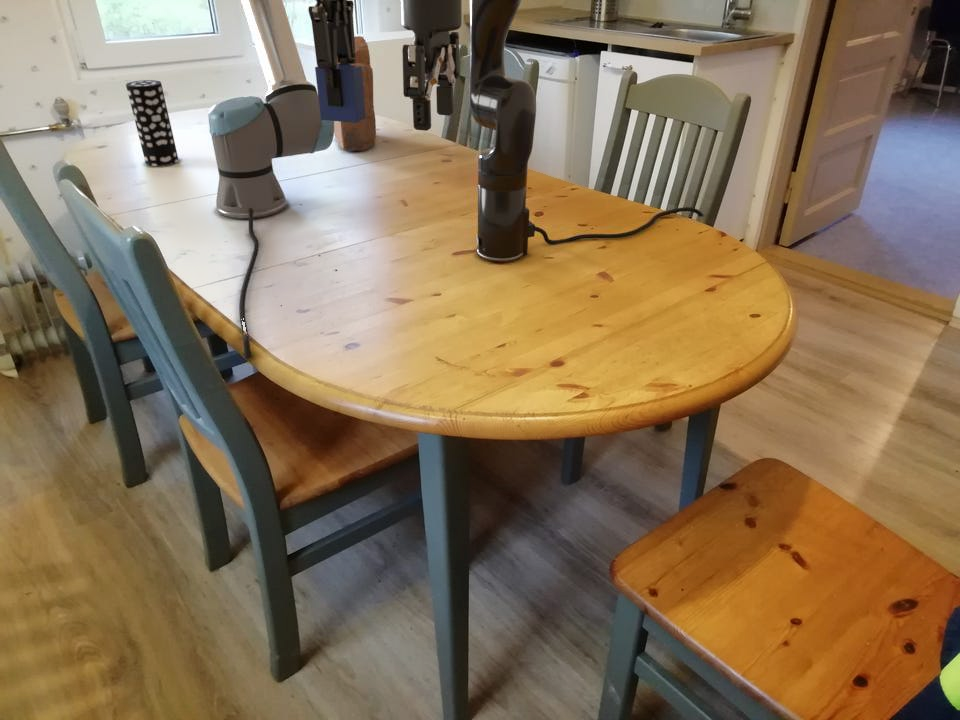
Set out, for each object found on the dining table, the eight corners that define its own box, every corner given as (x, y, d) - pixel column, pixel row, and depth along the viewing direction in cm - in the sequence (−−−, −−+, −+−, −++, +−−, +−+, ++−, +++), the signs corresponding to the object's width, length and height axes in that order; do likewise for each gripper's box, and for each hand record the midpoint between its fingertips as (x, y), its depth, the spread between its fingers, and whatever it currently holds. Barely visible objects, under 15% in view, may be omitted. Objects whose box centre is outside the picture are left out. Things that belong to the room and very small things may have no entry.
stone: (383, 150, 197) (374, 42, 182) (343, 153, 194) (332, 44, 179) (369, 134, 214) (360, 34, 200) (332, 137, 211) (321, 36, 197)
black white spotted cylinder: (184, 157, 190) (167, 80, 179) (169, 166, 183) (151, 87, 172) (155, 156, 190) (136, 79, 179) (139, 165, 183) (119, 86, 172)
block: (330, 115, 136) (324, 63, 131) (365, 118, 134) (361, 66, 129) (320, 120, 132) (314, 67, 127) (357, 123, 131) (352, 69, 126)
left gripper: (329, -41, 127) (342, 92, 139) (283, -37, 113) (301, 111, 125) (367, -40, 125) (376, 95, 138) (325, -36, 111) (339, 114, 124)
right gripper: (423, -19, 91) (427, 108, 100) (378, -11, 80) (387, 132, 88) (477, -17, 89) (476, 112, 98) (438, -8, 78) (441, 137, 87)
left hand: (341, 102), depth 132 cm, fingers closed on block, 4 cm apart
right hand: (434, 121), depth 93 cm, fingers open, 8 cm apart
